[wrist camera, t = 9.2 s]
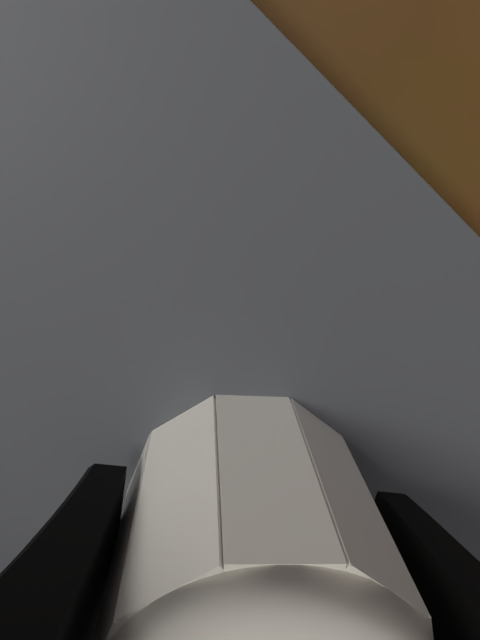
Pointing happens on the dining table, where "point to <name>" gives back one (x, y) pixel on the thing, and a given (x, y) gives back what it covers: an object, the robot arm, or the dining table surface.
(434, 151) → the dining table surface
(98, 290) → the post board
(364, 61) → the dining table surface
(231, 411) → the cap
